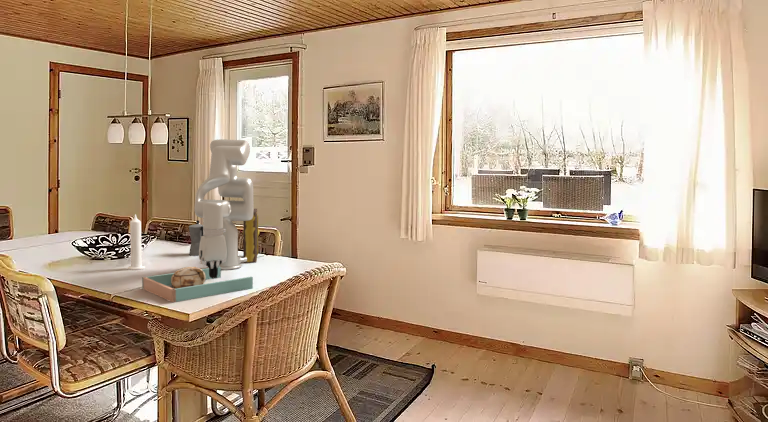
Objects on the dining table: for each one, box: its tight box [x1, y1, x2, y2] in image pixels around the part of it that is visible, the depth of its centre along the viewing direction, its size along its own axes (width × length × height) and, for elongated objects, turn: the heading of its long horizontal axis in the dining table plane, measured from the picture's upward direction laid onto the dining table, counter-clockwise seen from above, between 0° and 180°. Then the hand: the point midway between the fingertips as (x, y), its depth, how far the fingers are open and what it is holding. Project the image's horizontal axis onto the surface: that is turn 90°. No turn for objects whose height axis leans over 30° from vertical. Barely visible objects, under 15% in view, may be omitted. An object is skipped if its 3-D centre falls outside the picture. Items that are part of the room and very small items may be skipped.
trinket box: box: [171, 266, 206, 289], centre depth 219 cm, size 13×15×8 cm
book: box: [242, 208, 260, 264], centre depth 279 cm, size 22×8×25 cm, turn 12°
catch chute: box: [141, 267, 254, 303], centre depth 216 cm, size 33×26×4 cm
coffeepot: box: [188, 220, 203, 257], centre depth 287 cm, size 15×9×18 cm, turn 37°
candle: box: [127, 213, 146, 271], centre depth 249 cm, size 7×7×25 cm
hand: (213, 277), depth 221 cm, fingers closed
